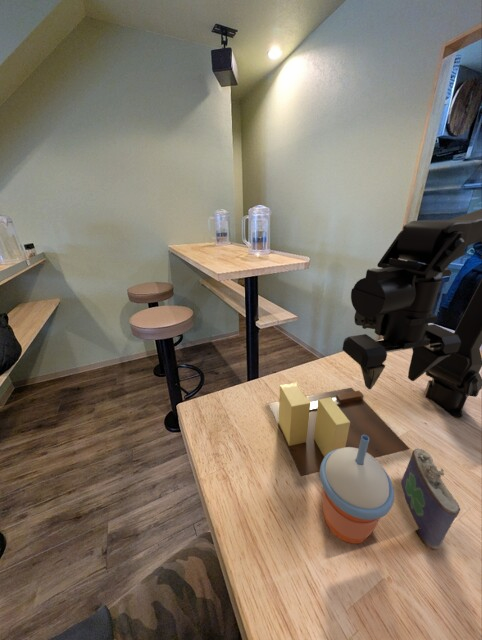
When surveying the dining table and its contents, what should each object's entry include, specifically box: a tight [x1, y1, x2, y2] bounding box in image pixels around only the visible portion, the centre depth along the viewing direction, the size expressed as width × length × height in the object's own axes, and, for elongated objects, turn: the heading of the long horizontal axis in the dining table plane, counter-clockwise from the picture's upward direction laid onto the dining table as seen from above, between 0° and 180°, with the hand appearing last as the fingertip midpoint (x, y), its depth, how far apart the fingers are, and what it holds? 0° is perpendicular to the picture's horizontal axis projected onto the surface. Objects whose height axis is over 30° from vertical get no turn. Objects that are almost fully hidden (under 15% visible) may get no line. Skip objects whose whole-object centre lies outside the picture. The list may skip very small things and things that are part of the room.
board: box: [268, 387, 410, 477], centre depth 53 cm, size 22×18×2 cm
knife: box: [310, 390, 365, 411], centre depth 58 cm, size 15×2×1 cm, turn 102°
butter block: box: [278, 382, 310, 446], centre depth 49 cm, size 4×6×10 cm, turn 12°
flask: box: [400, 448, 461, 550], centre depth 36 cm, size 9×3×11 cm, turn 172°
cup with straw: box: [319, 435, 395, 544], centre depth 34 cm, size 9×9×18 cm
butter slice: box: [314, 397, 350, 457], centre depth 45 cm, size 2×6×10 cm, turn 12°
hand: (389, 383), depth 47 cm, fingers open, 9 cm apart
